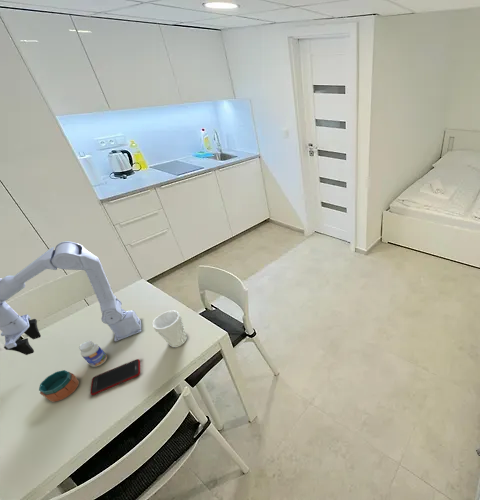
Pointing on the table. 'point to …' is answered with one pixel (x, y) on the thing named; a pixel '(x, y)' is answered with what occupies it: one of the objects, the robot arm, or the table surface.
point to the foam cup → (170, 328)
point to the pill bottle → (92, 353)
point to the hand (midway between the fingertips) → (33, 345)
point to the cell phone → (115, 376)
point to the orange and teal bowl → (58, 385)
